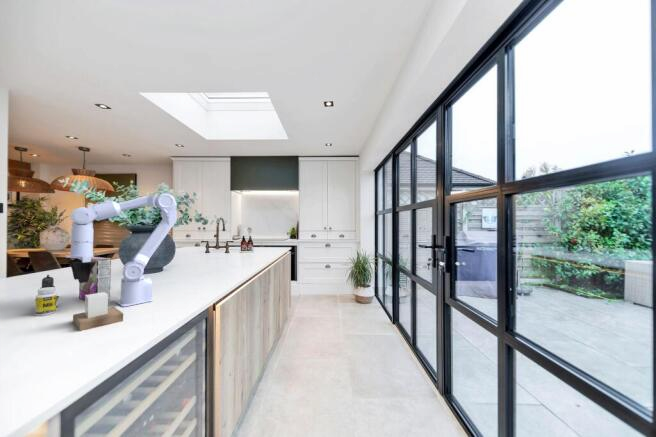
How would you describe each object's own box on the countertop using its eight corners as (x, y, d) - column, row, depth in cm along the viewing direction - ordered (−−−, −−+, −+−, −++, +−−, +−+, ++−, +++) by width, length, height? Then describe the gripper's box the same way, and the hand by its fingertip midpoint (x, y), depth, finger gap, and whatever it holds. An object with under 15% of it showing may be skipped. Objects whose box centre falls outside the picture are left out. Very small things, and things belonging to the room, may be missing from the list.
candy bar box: (77, 299, 104) (78, 257, 104) (92, 296, 109) (93, 256, 109) (96, 302, 100) (97, 259, 100) (110, 299, 105) (111, 258, 105)
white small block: (104, 310, 85) (104, 291, 85) (107, 314, 82) (107, 294, 82) (85, 314, 82) (85, 295, 82) (87, 318, 79) (88, 298, 79)
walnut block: (113, 315, 89) (113, 306, 89) (122, 322, 83) (123, 313, 83) (72, 324, 81) (73, 314, 81) (80, 333, 75) (80, 322, 75)
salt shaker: (31, 309, 92) (32, 275, 92) (53, 304, 97) (54, 272, 97) (39, 312, 90) (40, 276, 90) (62, 306, 95) (63, 273, 95)
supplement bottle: (42, 316, 86) (42, 290, 86) (31, 315, 87) (31, 289, 87) (59, 311, 90) (60, 287, 90) (49, 310, 91) (49, 286, 91)
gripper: (62, 241, 94) (61, 279, 94) (70, 243, 85) (69, 286, 85) (88, 240, 99) (87, 276, 99) (99, 242, 91) (97, 282, 90)
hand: (80, 280), depth 92 cm, fingers open, 7 cm apart
